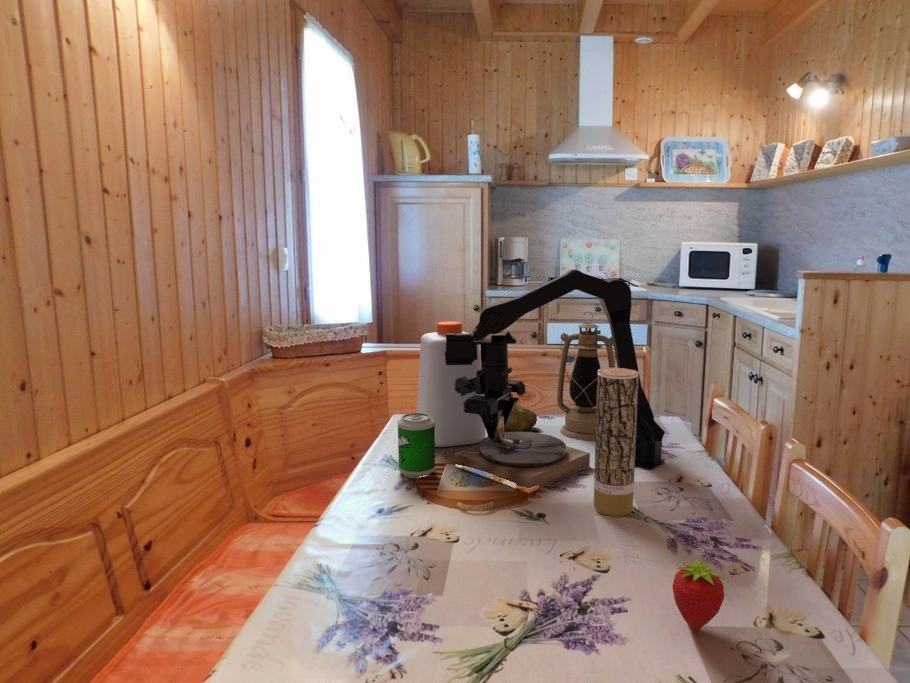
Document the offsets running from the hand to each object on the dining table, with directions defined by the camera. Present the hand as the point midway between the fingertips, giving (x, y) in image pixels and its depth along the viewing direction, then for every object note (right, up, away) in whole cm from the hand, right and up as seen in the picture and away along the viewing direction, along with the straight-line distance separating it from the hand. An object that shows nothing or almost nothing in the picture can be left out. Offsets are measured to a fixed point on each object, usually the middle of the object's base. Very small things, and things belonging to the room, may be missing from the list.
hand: (496, 434), depth 136 cm
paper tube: (+19, -10, -24) cm, 32 cm away
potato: (+5, -2, +23) cm, 24 cm away
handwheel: (+5, -3, -3) cm, 7 cm away
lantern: (+23, -3, +20) cm, 31 cm away
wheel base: (+5, -6, -3) cm, 9 cm away
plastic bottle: (-10, -3, +17) cm, 20 cm away
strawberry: (+21, -16, -58) cm, 64 cm away
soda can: (-17, -7, -6) cm, 19 cm away
